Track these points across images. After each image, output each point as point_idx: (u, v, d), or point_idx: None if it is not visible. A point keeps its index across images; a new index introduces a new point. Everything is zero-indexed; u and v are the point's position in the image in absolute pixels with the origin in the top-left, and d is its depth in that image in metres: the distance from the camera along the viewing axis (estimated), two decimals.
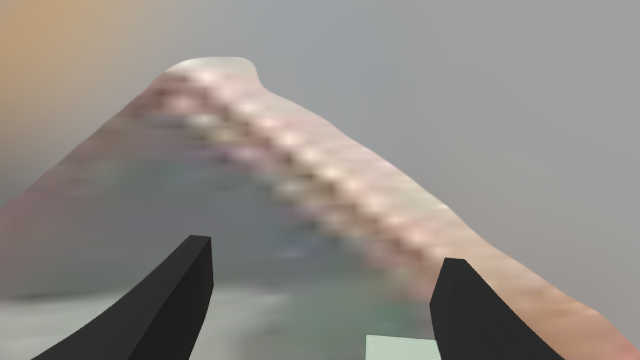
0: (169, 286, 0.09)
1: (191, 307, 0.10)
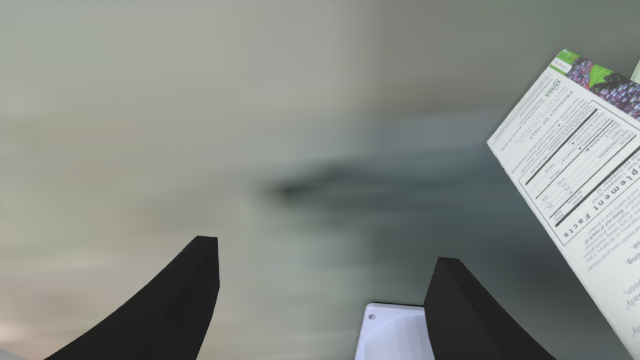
0: (177, 287, 0.09)
1: (198, 308, 0.10)
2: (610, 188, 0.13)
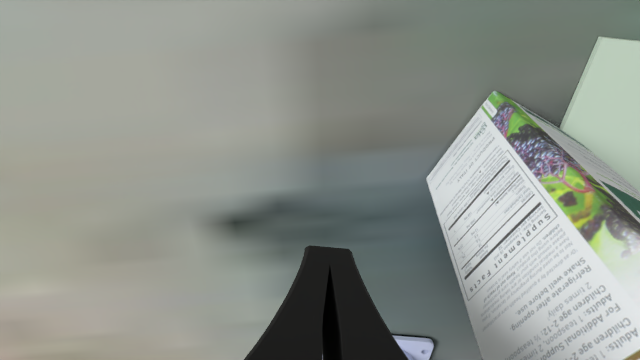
0: (319, 299, 0.09)
1: None
2: (509, 247, 0.13)
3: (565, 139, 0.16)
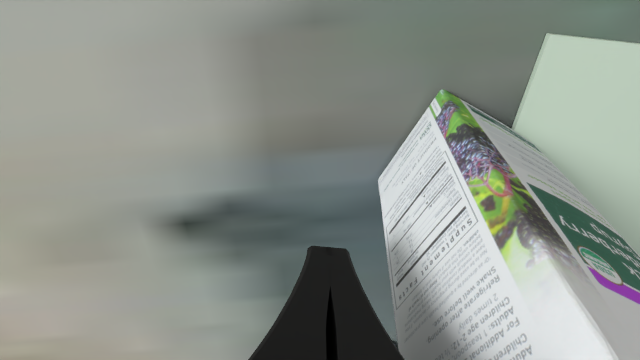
0: (322, 299, 0.09)
1: None
2: (435, 254, 0.12)
3: (508, 139, 0.16)
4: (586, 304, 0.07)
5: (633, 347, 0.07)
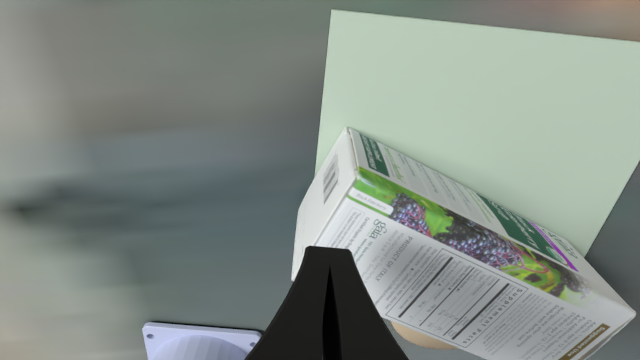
0: (319, 299, 0.09)
1: None
2: (491, 313, 0.17)
3: (419, 181, 0.17)
4: (610, 298, 0.17)
5: (610, 292, 0.17)
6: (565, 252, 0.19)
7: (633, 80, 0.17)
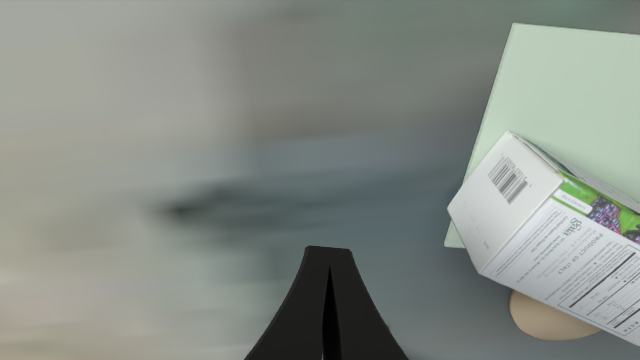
0: (319, 299, 0.09)
1: None
2: None
3: (593, 182, 0.18)
4: None
5: None
6: None
7: None
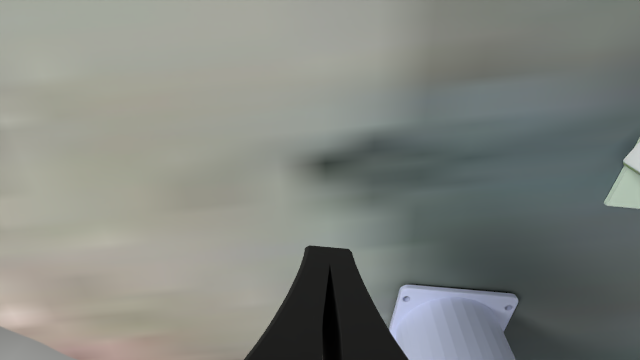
0: (319, 299, 0.09)
1: None
2: None
3: None
4: None
5: None
6: None
7: None
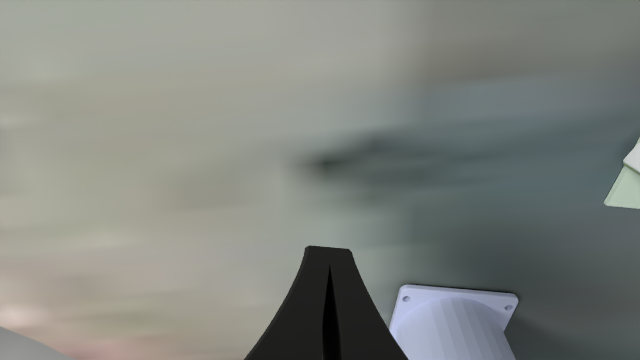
0: (319, 299, 0.09)
1: None
2: None
3: None
4: None
5: None
6: None
7: None
